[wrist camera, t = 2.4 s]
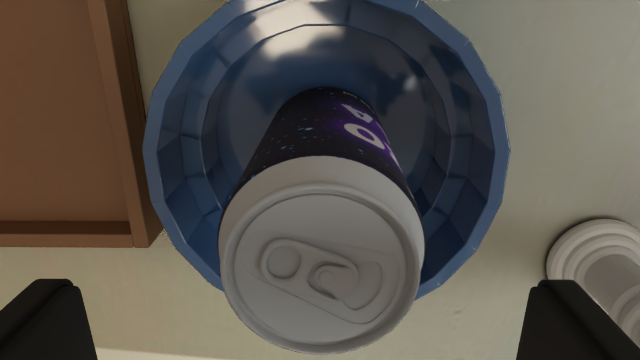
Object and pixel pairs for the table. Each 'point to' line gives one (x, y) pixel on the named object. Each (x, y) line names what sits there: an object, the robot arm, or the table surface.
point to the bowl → (340, 72)
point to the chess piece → (603, 268)
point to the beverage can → (322, 229)
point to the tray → (71, 128)
